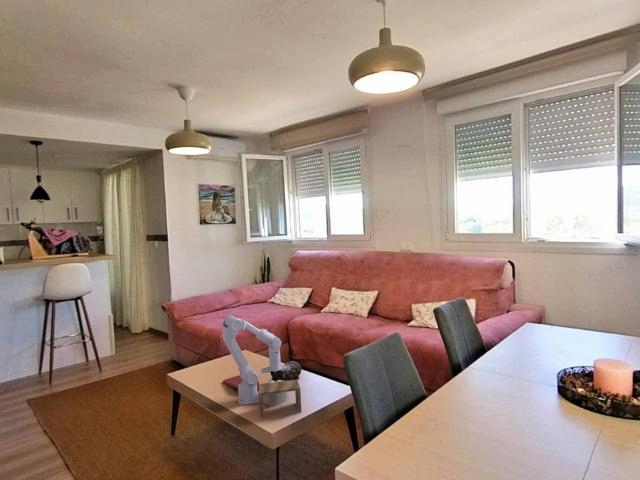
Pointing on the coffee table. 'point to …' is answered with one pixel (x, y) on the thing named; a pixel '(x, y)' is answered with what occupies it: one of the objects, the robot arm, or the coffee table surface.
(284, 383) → the walnut shelf
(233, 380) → the carton
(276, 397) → the lumpy-topped squat cylinder
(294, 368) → the pine cone
